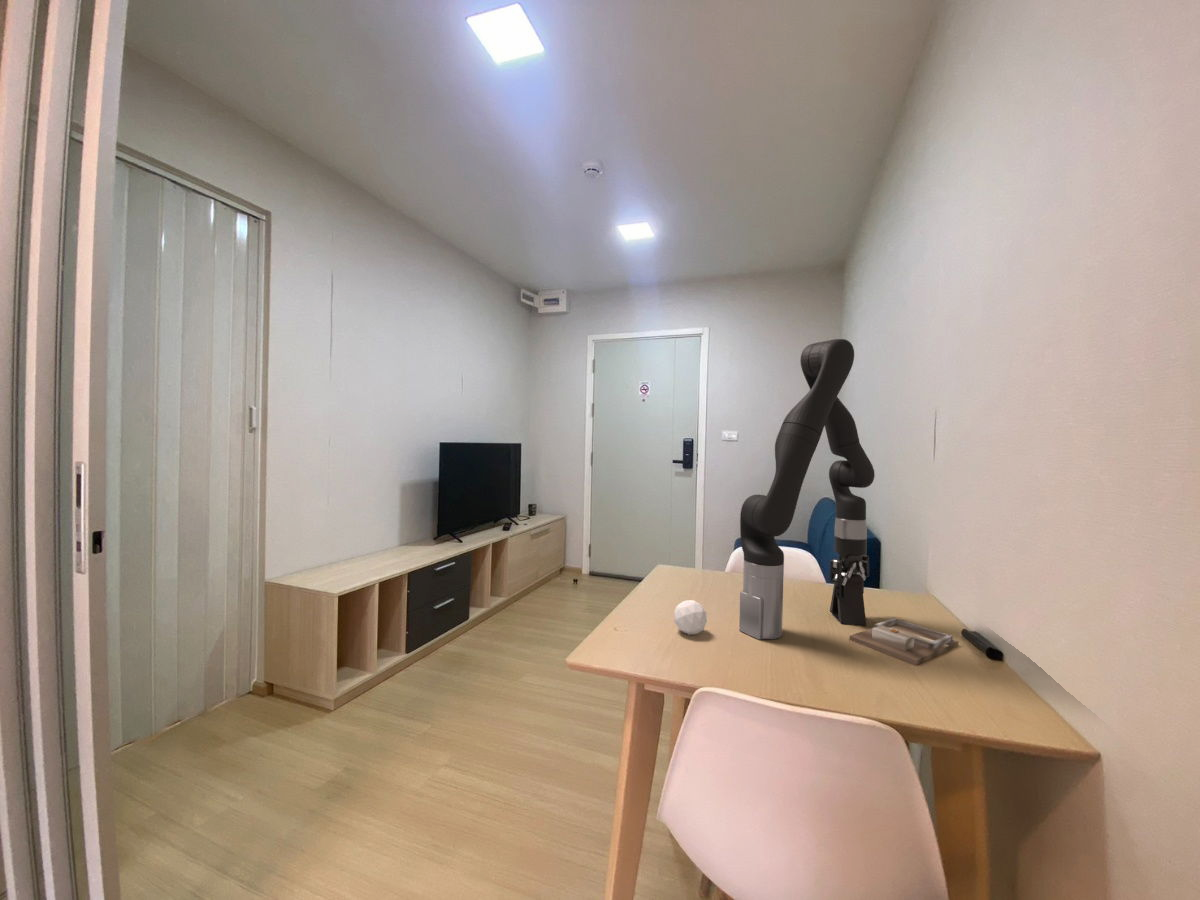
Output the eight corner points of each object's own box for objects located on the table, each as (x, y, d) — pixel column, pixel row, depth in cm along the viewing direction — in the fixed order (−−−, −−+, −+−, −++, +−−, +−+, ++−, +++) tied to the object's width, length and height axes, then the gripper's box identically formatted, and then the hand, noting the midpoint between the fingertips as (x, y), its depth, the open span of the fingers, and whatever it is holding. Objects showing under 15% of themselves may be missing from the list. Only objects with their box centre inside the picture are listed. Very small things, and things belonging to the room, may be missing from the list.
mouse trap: (916, 665, 93) (916, 647, 93) (849, 639, 105) (849, 624, 105) (958, 645, 103) (958, 629, 103) (893, 624, 115) (893, 610, 115)
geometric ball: (690, 647, 105) (681, 627, 101) (672, 624, 112) (664, 603, 108) (716, 630, 106) (709, 609, 102) (697, 608, 113) (690, 587, 109)
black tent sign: (866, 626, 113) (867, 579, 113) (840, 624, 115) (842, 577, 115) (853, 613, 122) (854, 570, 122) (829, 611, 123) (830, 568, 123)
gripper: (851, 530, 125) (851, 588, 125) (821, 535, 118) (820, 596, 118) (879, 535, 119) (879, 596, 119) (849, 540, 111) (848, 605, 111)
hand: (849, 596), depth 118 cm, fingers open, 8 cm apart
